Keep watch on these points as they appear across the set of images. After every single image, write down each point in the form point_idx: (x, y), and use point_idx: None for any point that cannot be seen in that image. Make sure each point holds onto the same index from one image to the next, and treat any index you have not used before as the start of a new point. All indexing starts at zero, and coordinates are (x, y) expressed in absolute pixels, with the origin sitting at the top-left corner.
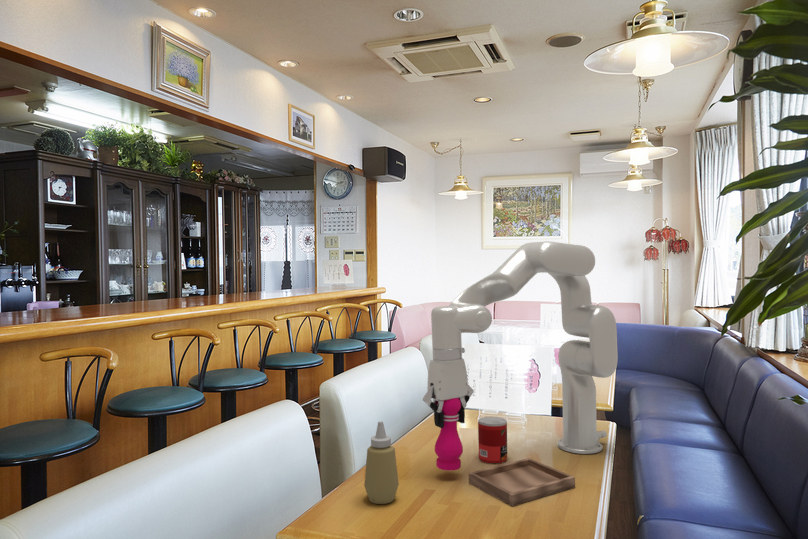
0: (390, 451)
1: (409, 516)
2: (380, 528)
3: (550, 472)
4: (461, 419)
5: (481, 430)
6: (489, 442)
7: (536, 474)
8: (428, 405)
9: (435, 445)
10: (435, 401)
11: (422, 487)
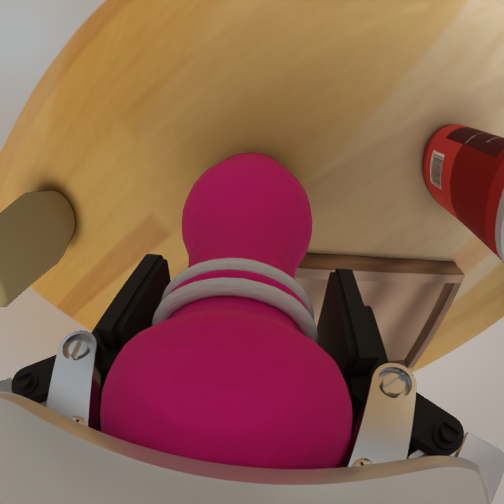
0: (2, 306)
1: (88, 295)
2: (51, 296)
3: (424, 332)
4: (319, 342)
5: (483, 190)
6: (459, 209)
7: (410, 316)
8: (24, 372)
9: (185, 204)
10: (66, 411)
11: (148, 205)
